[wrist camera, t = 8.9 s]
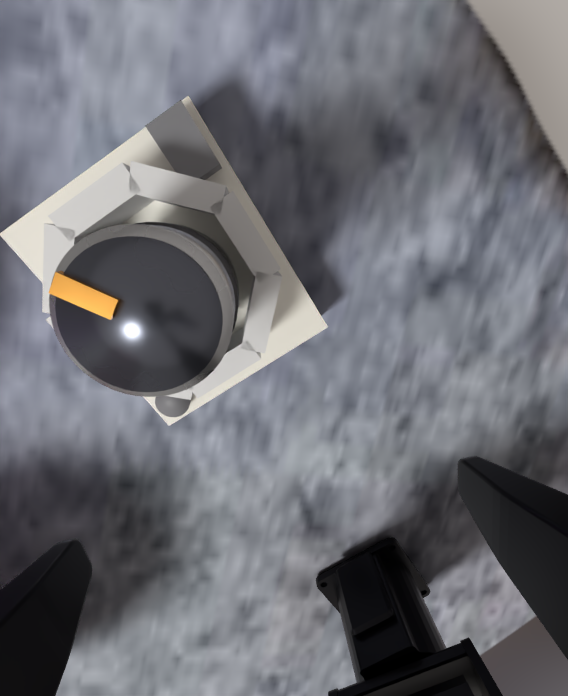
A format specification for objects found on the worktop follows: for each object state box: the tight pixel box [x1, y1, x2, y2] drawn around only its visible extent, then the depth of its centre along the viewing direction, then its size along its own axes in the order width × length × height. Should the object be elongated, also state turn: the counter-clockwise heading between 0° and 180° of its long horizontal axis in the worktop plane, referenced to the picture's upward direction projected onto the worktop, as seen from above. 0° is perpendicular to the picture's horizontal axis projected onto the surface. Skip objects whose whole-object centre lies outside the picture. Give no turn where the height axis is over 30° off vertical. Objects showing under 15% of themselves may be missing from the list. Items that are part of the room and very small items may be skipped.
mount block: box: [0, 96, 328, 426], centre depth 15 cm, size 11×10×4 cm
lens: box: [49, 222, 239, 397], centre depth 12 cm, size 5×5×6 cm
